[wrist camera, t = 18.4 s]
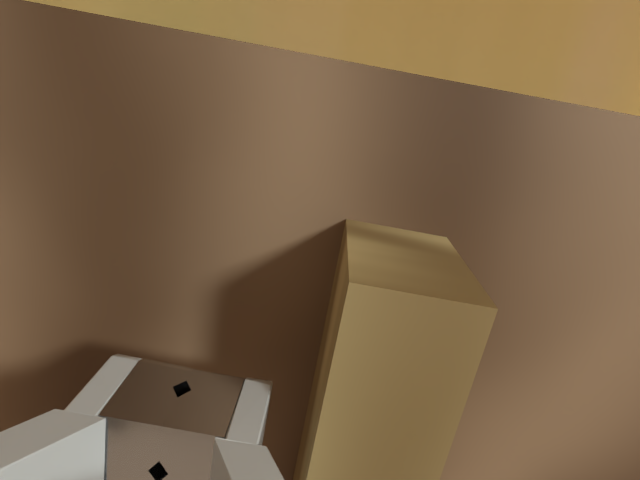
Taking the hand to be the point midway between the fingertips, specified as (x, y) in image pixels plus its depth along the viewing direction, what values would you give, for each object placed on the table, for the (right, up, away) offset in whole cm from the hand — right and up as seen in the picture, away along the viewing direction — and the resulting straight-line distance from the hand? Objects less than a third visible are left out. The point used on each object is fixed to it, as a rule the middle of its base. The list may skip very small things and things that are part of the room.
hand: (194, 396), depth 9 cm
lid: (+3, 0, +2) cm, 4 cm away
